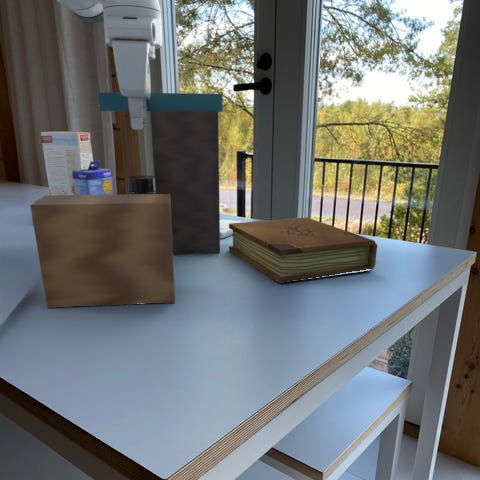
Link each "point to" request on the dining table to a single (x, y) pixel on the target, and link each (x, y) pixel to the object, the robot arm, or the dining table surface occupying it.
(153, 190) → the ink bottle
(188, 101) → the teal bar
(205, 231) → the stand
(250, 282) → the dining table surface
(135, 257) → the brown wooden block
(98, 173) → the ink cartridge box
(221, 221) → the hard drive
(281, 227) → the diary
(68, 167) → the cracker box
